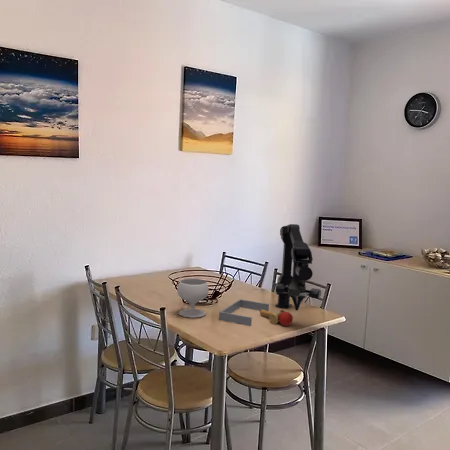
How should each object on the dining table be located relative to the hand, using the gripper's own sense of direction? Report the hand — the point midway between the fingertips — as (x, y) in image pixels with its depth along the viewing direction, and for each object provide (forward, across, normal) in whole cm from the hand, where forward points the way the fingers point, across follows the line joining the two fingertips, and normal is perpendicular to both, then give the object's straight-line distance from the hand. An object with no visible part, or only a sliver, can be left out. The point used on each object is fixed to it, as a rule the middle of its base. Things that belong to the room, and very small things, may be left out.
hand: (296, 310), depth 199 cm
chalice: (+7, -45, -11) cm, 47 cm away
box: (+6, -23, 0) cm, 24 cm away
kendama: (+7, -9, 0) cm, 12 cm away
